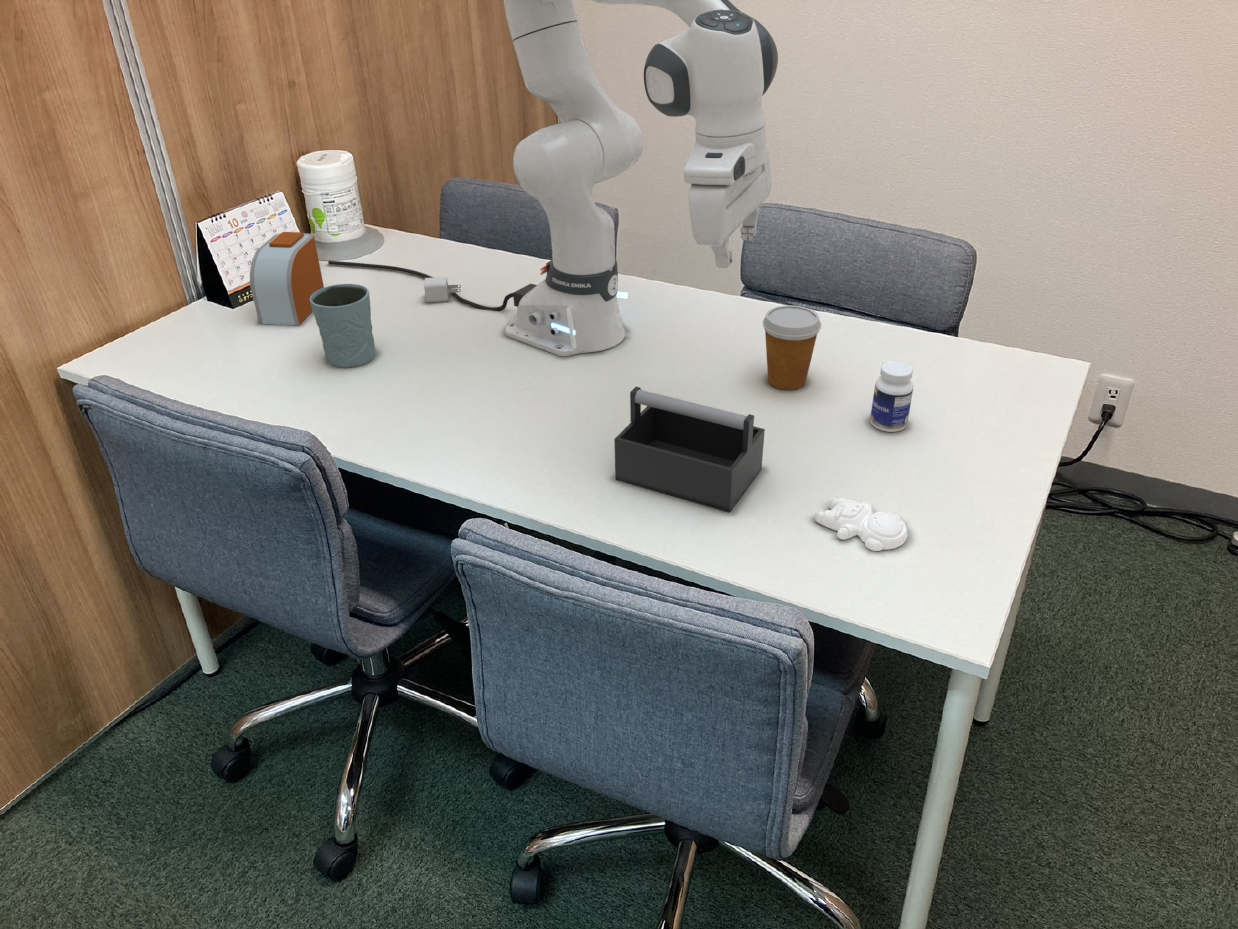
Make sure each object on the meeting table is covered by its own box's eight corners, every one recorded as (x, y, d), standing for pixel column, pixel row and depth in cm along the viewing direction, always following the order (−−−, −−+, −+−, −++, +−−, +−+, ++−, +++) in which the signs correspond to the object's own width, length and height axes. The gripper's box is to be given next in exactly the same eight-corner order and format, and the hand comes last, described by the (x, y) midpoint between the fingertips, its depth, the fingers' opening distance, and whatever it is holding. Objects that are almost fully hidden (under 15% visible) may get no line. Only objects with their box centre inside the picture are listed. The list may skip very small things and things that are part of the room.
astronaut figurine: (840, 496, 139) (842, 479, 137) (918, 530, 132) (921, 512, 131) (806, 525, 134) (808, 507, 132) (885, 562, 127) (888, 543, 125)
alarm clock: (289, 292, 202) (275, 228, 194) (329, 293, 201) (316, 229, 193) (257, 323, 190) (241, 256, 182) (299, 325, 189) (285, 258, 181)
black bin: (614, 479, 144) (613, 407, 137) (651, 440, 152) (651, 371, 146) (730, 512, 136) (734, 439, 130) (762, 469, 145) (767, 398, 139)
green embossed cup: (338, 375, 172) (326, 311, 165) (311, 355, 178) (298, 293, 171) (390, 356, 177) (379, 294, 170) (362, 338, 184) (351, 277, 177)
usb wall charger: (427, 295, 199) (424, 276, 197) (461, 293, 200) (459, 274, 198) (426, 303, 196) (423, 284, 194) (461, 301, 197) (459, 282, 194)
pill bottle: (862, 419, 157) (870, 363, 151) (892, 411, 158) (901, 355, 153) (884, 436, 152) (893, 379, 147) (914, 428, 154) (924, 371, 149)
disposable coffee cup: (814, 397, 163) (821, 331, 156) (756, 392, 164) (760, 326, 158) (816, 370, 170) (823, 306, 164) (760, 365, 172) (765, 302, 165)
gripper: (737, 125, 135) (741, 222, 143) (677, 174, 121) (686, 280, 128) (781, 126, 133) (783, 224, 140) (725, 176, 118) (732, 284, 126)
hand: (736, 251), depth 134 cm, fingers open, 8 cm apart
